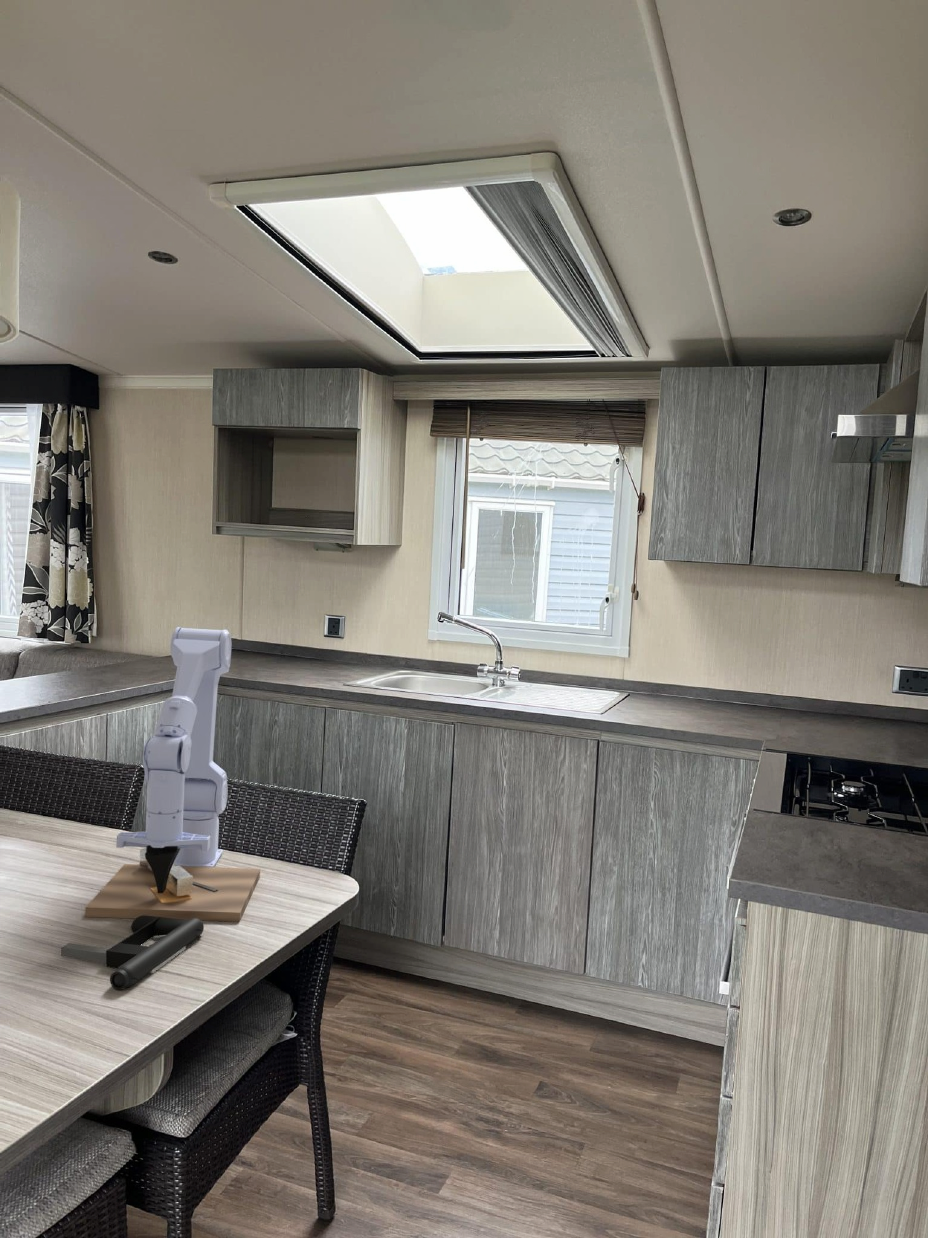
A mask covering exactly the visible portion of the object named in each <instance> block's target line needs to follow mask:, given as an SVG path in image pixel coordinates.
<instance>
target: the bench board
mask: <svg viewBox="0 0 928 1238" xmlns="http://www.w3.org/2000/svg"><path fill="white" fill-rule="evenodd" d="M181 867H182V868H183V869H184V870H186V871H187V872H188V873H189V874H191V875H192V876H193V890H192V894H188V895H183V896H178V897H177V896H176V895H174V894H173V893H172V892H171V891H170V890H169V889H168V888H166V890H165V891H164V892H163V893H158V892H157V885H156V881H155V877H154V874H153V872H152V871H151V870H150V869H149V868H143V867H141V866H140V865H139V864H137V863H134V864H133V863H132V864H131V863H124V864H123V865H122V866H121V868H120V869H119V870H118V871H117V872H116V873H115V874H114V875H113V876H112V877H111V878H110V880H109V881H108V882H107V883H106V884H105V885H104V886H103V887H102V888H101V889H100V891H99V892H98V893H97V894H95V896H94V897H93V899H92V900H90V902H89V903H88V904H87V905H86V906H85V907H84V908H85V909H84V910H85V913H84V914H85V915H84V916H85V917H86V918H116V919H136V918H137V917H139V916H142V915H146V916H155V917H164V918H173V919H183V920H189V919H191V918H198V919H200V920H201V921H202V922H205V921H207V922H208V921H209V922H232V923H233V922H234V923H235V922H236V923H239V922H241V920H242V918H243V915H244V913H245V910H246V908H247V906H248V905H249V903H250V900H251V898H252V896H253V893H254V891H255V890H256V887H257V884H258V882H259V880H260V878H261V868H250V867H249V868H245V867H244V868H243V867H221V866H220V867H218V866H217V867H215V866H214V867H194V866H181Z"/></svg>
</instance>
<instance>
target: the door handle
mask: <svg viewBox="0 0 928 1238" xmlns="http://www.w3.org/2000/svg"><path fill="white" fill-rule="evenodd" d="M130 928H131V929H130V930H131V931H132V932H133V933H132V934H131V935H130V934H129V936H127V937H126V938H123V940H120V941H118V943H116V944H114V945H113V946H111V947H103V946H96V945H87V944H79V943H72V942H71V943H70V942H68V943H67V944H64V945H63V946H61V947H60V955H61V957H67V958H71V959H76V960H81V961H86V960H87V962H91V963H96V964H97V963H98V964H101V963H102V964H101V965H105V966H106V967H105V968H110V969H115V968H116V969H115V971H114V972H112V973H111V974H110V976H109V982H110V984H111V987H112V988H113V989H115V990H116V991H122V990H124V989H127V988H130V987H131V986H133V985H134V984H135V983H136V982H139V981H140V980H141V979H142V978H144V977H145V976H147V975H148V974H152V973H153V974H155V973H156V972H157V971H158V970H159V969H161V968H162V967H164V966H165V965H166V964H168V963H169V962H170V961H172V960H173V959H174V958H176V957H177V956H179V955H180V954H181V953H183V952H184V951H185V950H186V947H187V946H188V945H189V944H191V943H192V942H194V941H196V940H197V938H201V937H204V936H202V934H203V932H204V929H205V926H204V923H203V921H201V920H200V919H198V918H191V919H189V920H183V919H173V918H164V917H155V916H146V915H142V916H139V917H137V918H134V919H133V921H132V923H131V926H130ZM158 935H159V936H158ZM151 937H152V938H151ZM150 938H151V939H152V942H153V943H152V944H151V945H149V946H147V945H143V944H145V943H146V942H147V940H148V939H149V940H151V939H150ZM149 940H148V941H149ZM144 942H145V943H144ZM141 944H142V945H141ZM182 951H183V952H182ZM179 953H180V954H179ZM178 954H179V955H178ZM175 956H176V957H175ZM171 959H172V960H171ZM169 960H170V961H169ZM167 962H168V963H167ZM160 967H161V968H160ZM156 970H157V971H156Z"/></svg>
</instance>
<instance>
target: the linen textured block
mask: <svg viewBox="0 0 928 1238" xmlns="http://www.w3.org/2000/svg"><path fill="white" fill-rule="evenodd" d="M146 852H147V847H143V848H142V849H140V850H139V862H138V863H139V865H140V866H141V867H143V868H149V869H150V870H151V871H152V869H151V867H150V865H149V863H148V861H147V860H146V858H145V853H146ZM166 888H168V889H169V890H170V891H171V892H172V893H173V894H174V895H176V896H177V897H178V896H183V895H188V894H192V890H193V876H192V875H191V874H189V873H188V872H187V871H186V870H184V869H183V868H182V867H181V866H175V865H172V868H171V871H170V873H169V877H168V880H167V885H166Z"/></svg>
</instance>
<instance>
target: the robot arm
mask: <svg viewBox="0 0 928 1238" xmlns="http://www.w3.org/2000/svg"><path fill="white" fill-rule="evenodd" d="M231 636H232V635H231V633H230V632H229V630H228V629H222V630H221V629H205V628H191V627H190V628H187V627H182V626H178V627H176V628H175V629H174V630H173V631H172V634H171V639H170V645H169V646H170V647H169V648H170V655H171V658H172V660H173V664H174V666H176V672H175V678H174V684H173V689H172V693H171V695H172V696H171V697H169V698H167V699H165V700H164V701H163V703H162V706H161V709H160V713H159V716H158V719H157V723H156V727H155V729H154V732H153V736H152V737H151V738H148V739H147V740H146V741H145V744H144V746H143V753H142V765H143V770H144V782H145V783H147V784H146V786H147V787H146V814H145V816H146V817H145V831H133V832H131V831H130V832H129V831H128V832H124V831H123V832H119V833H118V834H117V835H116V844H115V845H116V846H115V847H116V848H124V847H131V848H132V847H133V848H146V847H147V852H146V853H145V858H146V860H147V861H148V863H149V865H150V867H151V869H152V872H153V874H154V877H155V881H156V885H157V892H158V893H163V892H164V891H165V890H166V885H167V880H168V877H169V873H170V871H171V868H172V865H175V866H194V867H215V866H216V864H217V862H218V860H219V859H220V858H221V856H222V854H223V853H224V850H223V849H221V848H220V849H219V833H220V832H219V831H220V828H219V827H220V826H219V825H220V820H219V815H221V814H223V812H225V809H226V807H227V803H228V793H229V792H228V776H227V775H228V774H227V772H226V771H225V770H224V768H221V767H220V766H219V765H218V764H216V762H214V748H215V746H214V745H215V732H216V718H217V717H216V715H217V705H218V704H217V703H218V701H217V699H218V686H219V682H220V679H221V678H220V677H221V675H222V676H223V675H225V674H227V673H229V671H230V668H231V661H232V660H231V659H232V646H233V645H232V637H231Z"/></svg>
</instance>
